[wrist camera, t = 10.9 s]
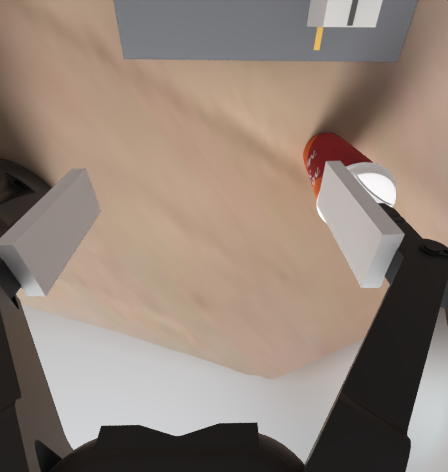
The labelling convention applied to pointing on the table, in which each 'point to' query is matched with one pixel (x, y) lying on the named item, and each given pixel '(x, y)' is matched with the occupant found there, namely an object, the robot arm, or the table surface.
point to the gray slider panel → (254, 31)
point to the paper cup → (348, 167)
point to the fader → (343, 13)
